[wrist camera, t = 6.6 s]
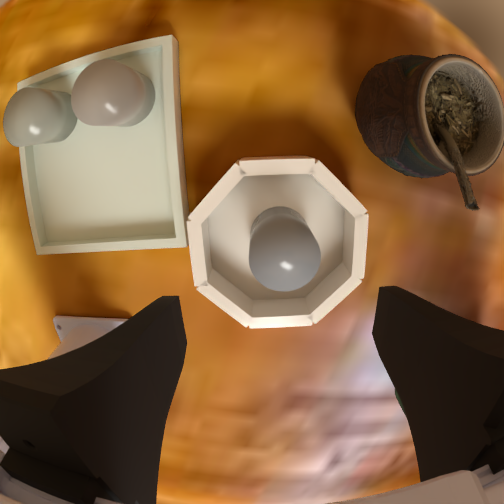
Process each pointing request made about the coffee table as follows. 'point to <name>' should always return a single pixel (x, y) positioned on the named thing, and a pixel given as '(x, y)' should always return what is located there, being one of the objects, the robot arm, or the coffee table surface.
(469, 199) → the mate gourd
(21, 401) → the robot arm
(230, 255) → the bowl
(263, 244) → the grey rounded cylinder
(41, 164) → the tray
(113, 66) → the pebble
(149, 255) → the coffee table surface
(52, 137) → the pebble
